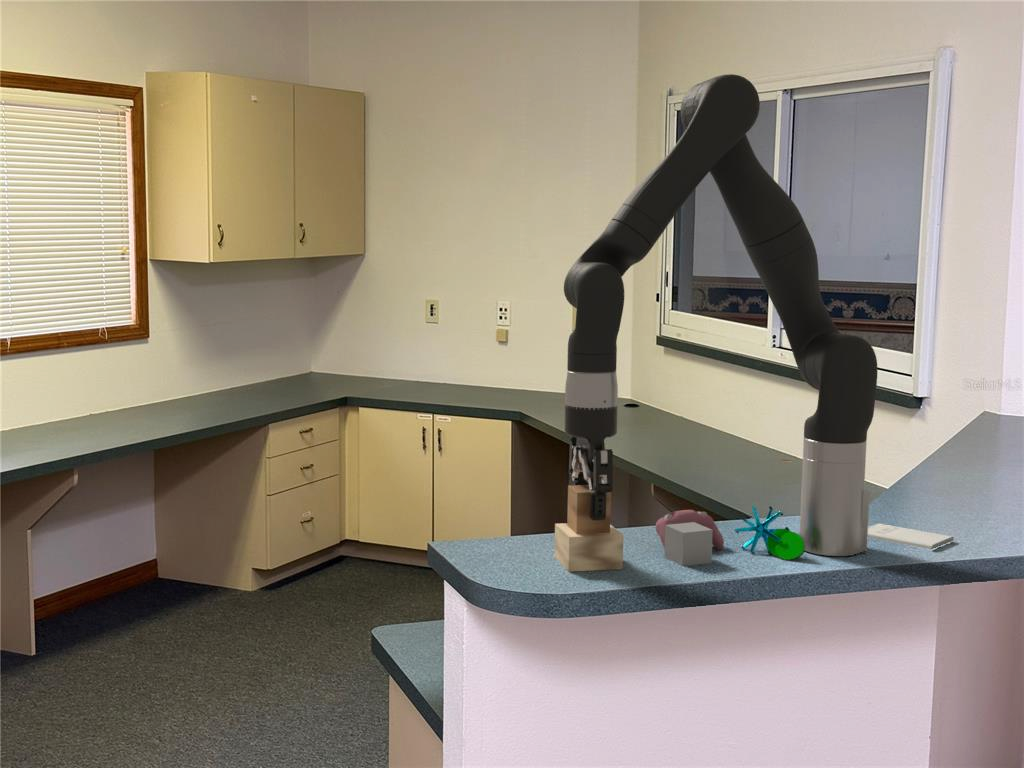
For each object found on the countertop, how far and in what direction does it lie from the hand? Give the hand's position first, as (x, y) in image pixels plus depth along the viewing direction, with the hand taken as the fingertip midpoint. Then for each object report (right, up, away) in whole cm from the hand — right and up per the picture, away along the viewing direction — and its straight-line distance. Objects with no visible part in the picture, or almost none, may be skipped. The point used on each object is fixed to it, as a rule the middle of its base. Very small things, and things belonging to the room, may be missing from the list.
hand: (589, 513), depth 161 cm
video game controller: (+16, -7, +10) cm, 20 cm away
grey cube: (+15, -7, +3) cm, 17 cm away
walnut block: (0, -2, 0) cm, 2 cm away
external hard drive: (+52, -7, +17) cm, 55 cm away
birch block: (0, -7, +1) cm, 7 cm away
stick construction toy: (+29, -7, +8) cm, 31 cm away
